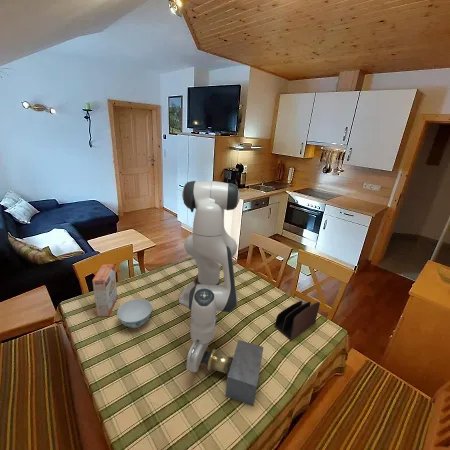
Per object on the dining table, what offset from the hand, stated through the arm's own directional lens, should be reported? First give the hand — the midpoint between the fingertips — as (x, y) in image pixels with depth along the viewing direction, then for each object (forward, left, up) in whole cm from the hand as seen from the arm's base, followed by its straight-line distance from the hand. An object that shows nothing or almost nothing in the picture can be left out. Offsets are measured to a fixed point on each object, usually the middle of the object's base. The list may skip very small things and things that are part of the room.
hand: (201, 357), depth 91 cm
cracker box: (-55, +14, -4) cm, 57 cm away
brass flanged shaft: (+5, 0, -3) cm, 5 cm away
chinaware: (-36, +10, -4) cm, 38 cm away
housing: (+18, 0, -4) cm, 18 cm away
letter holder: (+36, +36, -4) cm, 51 cm away
